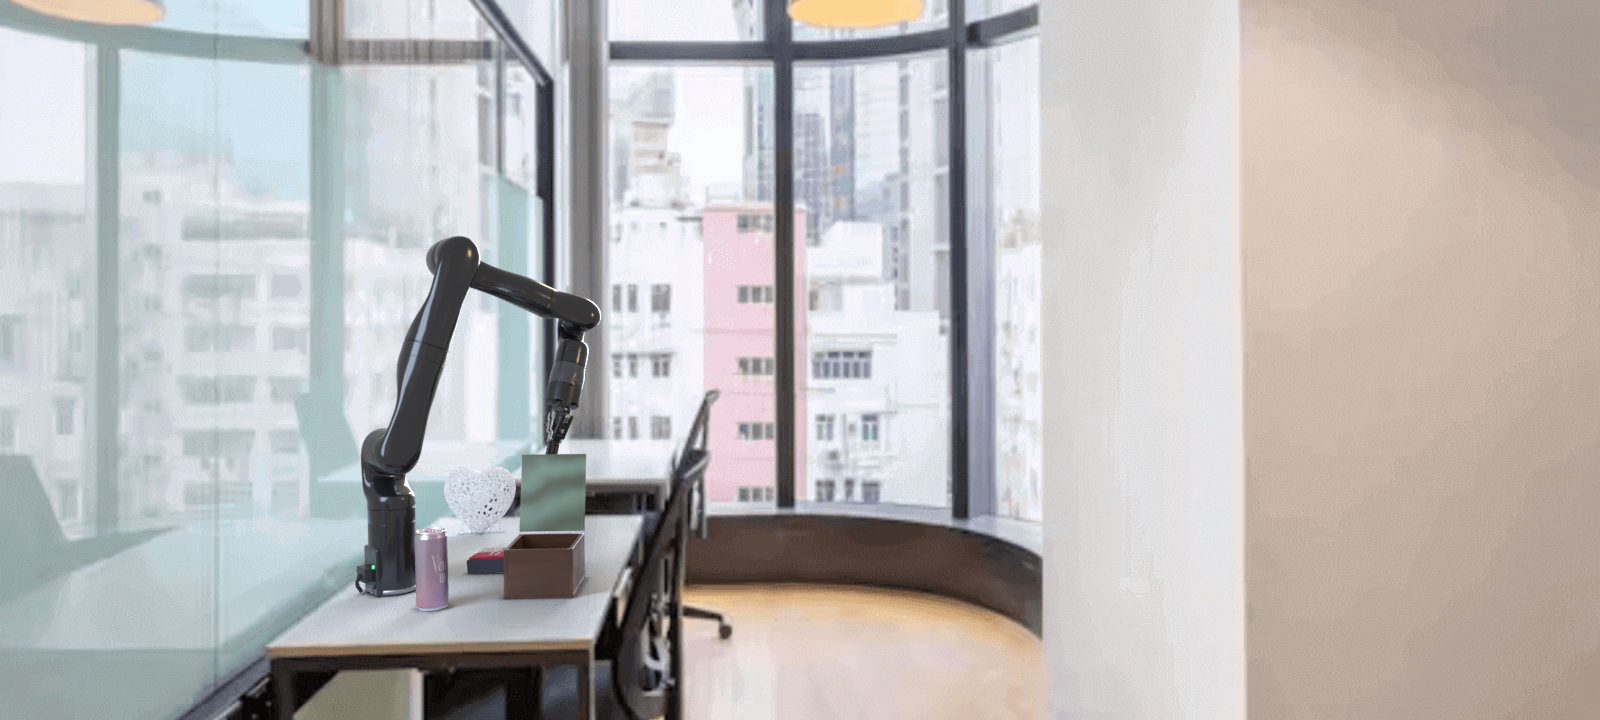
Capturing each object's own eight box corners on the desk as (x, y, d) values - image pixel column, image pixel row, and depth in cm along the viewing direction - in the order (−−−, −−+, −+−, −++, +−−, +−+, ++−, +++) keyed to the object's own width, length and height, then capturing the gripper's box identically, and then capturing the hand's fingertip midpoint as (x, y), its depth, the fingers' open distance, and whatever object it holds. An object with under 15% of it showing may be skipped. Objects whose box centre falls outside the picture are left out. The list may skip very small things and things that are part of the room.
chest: (573, 597, 213) (572, 549, 212) (504, 599, 212) (503, 550, 212) (585, 578, 228) (584, 532, 228) (520, 579, 228) (519, 533, 227)
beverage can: (437, 601, 211) (436, 526, 210) (455, 606, 207) (453, 529, 206) (410, 608, 206) (408, 531, 205) (427, 613, 202) (425, 535, 202)
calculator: (483, 546, 243) (548, 543, 242) (484, 565, 243) (549, 562, 242) (465, 557, 232) (533, 554, 231) (466, 577, 232) (534, 574, 231)
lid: (585, 453, 231) (586, 454, 232) (522, 454, 230) (522, 455, 231) (584, 530, 227) (584, 530, 228) (519, 531, 227) (520, 531, 228)
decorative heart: (439, 538, 270) (438, 470, 269) (450, 529, 281) (449, 464, 280) (512, 536, 271) (510, 469, 270) (520, 527, 282) (519, 463, 281)
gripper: (539, 387, 242) (524, 460, 236) (560, 373, 232) (544, 450, 226) (570, 395, 246) (556, 468, 240) (592, 383, 235) (577, 459, 229)
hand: (550, 459), depth 233 cm, fingers closed
